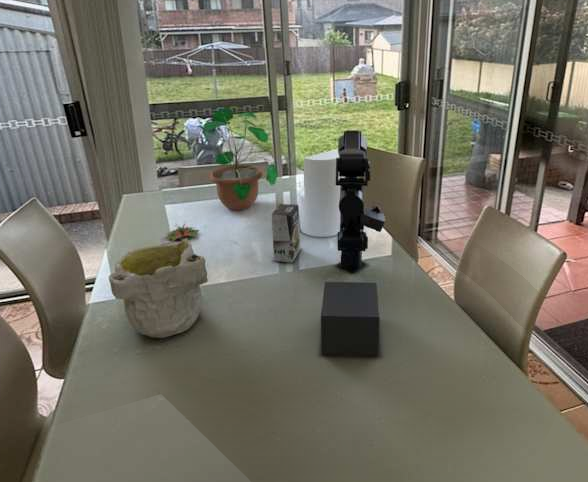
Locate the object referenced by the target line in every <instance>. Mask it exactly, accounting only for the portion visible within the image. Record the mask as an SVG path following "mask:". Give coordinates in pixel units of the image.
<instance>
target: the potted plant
mask: <svg viewBox="0 0 588 482" xmlns="http://www.w3.org/2000/svg"><path fill="white" fill-rule="evenodd" d="M237 117H238V118H242V117H244V120H241V121H239V120H238V122H240V123H244V135H243V136H242V135H241V136H240V135H239V136H237V135H235V136H234V135H233V132H232V129H231V127H230V125H229V121H230V120H232V119H234V113H233V109H231V108H222V109H219V110H217V111H215V112H214V114H213V115H212V117H211V121H207V122H205V123H204V124H203V129H204V131H205V132H206V136H205V140H204V143H203V144H204V145H205V144H207V143H208V139H209V134H210V133H209V132H210V131H212V130H214V129H215V128H216V127H218V128H219V130H220V131H221V133H222V135H223V136H224V138H225V140H226V142H227V144H228V147H229V149H230V150H229V151H228V150H227V151H225V152H223V151H222V149H221V147H220V146H219V144H218V142H217V140H216V139H215V138H213V140H214V142H215V144H216V146H217V148H218V149H219V151H220V152H221V153H219V154H218V155H217V157H216V158H215V163H217V164H218V165H220V166H225V167H221V168H217V169H216V170H213V171H212V172H211V173H210V177H209V179H210V180H211V181H212V182H214V184H215V186H216V192H217V197H218V199H219V201H220V202H221V204H222V205H224V207H226V208H227V209H229V210H231V211H244V210H247V209H249V208H251V207H252V205H253V204H254V203H255V202H256V200H257V199H258V196H259V180H260V179H261V178H262V177H263V171H262V170H261V169H263V170H266V178H265V181H267V182H268V183H269V184H270V186H273V185H275V184H276V182H277V178H278V175H279V172H278V170H277V169H276V166H275V165H274V163H270V165H269V166H268V167H267V168H264V167H262V166H253V165H244V164H243V165H241V163H243V162H244V161H246V159H247V158H248V157H249V156H250V155H251V153H252V151H253V148H254V144H255V141H256V139H257V140H258V141H260V142H261V143H265V144H266V143H267V142H268V141H269V134H268V133H267V132H266V131H265V129H264V128H261V127H258V126H256V124H255V123H253V122H252V121H250V120H247V117H250V118H253V119H255V120H256V119H257V116H256V114H255V113H253V112H249V111H248V112H244V113H243V112H242V113H240V114H238V115H237ZM226 125H227V126H228V128H229V131H230V134H231V136H230V138H231V139H232V141H233V142H232V143H233V145H234V150H235V151H233V149H232V147H231V144H230V142H229V140H228V139H227V137H226V135H225V132H224V131H223V129H222V128H221V126H226ZM248 125H252V126H248ZM247 130H248V131H249V132H250V133H251V134H253V136H255V137H254V140H253V142H252V147H251V149H250V150H249V153H248V154H247V156H246V157H244V158H243V159H242V160H241V161H240V158H241V155H242V152H243V149H244V144H245V141H246V135H247ZM210 136H211V137H213V135H212V134H210ZM235 139H237V147H236V143H235ZM242 139H243V140H242ZM239 140H242V142H241V145H240V141H239ZM239 145H240V147H239ZM234 152H235V153H234ZM238 154H239V155H238ZM234 159H235V160H234ZM226 165H229V166H226Z"/></svg>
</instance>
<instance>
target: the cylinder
mask: <svg viewBox="0 0 588 482" xmlns="http://www.w3.org/2000/svg"><path fill="white" fill-rule="evenodd" d="M336 158H339V154H338V148H335V149H331V150H327V151H325V152H320V153H317V154H313V155H310V156H306V157H303V158H302V161H303V162H302V163H303V187H301V188H299V190H297V191H298V192H297V193H298V194H297V195H298V209H299V231H301V233H303V234H305V235H308V236H311V237H316V238H327V237H329V238H330V237H334V236H337V235H338V232H340V210H339V199H340V186H336ZM340 178H345V177H340V176H339V173H338V180H340Z"/></svg>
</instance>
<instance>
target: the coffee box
mask: <svg viewBox="0 0 588 482" xmlns="http://www.w3.org/2000/svg"><path fill="white" fill-rule="evenodd" d="M270 216H271V229H272V230H271V231H272V232H271V233H272V247H273V249H272V250H273V261H275V262H282V263H283V262H284V263H292V264H293V262H294V261H295V259H296V257H297V256H298V254H299V252H300V251H301V239H300V238H301V237H300V234H301V233H300V221H299V204H288V203H286V204H285V203H280V204H278V206H277V207H276V208H275V210H274V211H272V213H271V215H270Z"/></svg>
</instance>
